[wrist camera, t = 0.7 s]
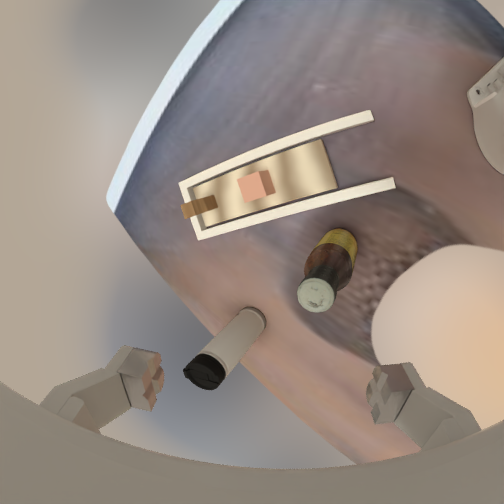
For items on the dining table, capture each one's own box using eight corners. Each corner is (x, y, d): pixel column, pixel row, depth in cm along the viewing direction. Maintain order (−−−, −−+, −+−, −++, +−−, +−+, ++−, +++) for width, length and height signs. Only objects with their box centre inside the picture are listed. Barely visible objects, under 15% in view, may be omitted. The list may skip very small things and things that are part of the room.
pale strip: (322, 139, 40) (309, 135, 33) (338, 187, 41) (329, 193, 34) (196, 187, 53) (168, 193, 46) (209, 225, 54) (183, 236, 47)
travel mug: (236, 304, 58) (178, 359, 41) (264, 308, 55) (211, 370, 38) (240, 329, 60) (187, 386, 43) (267, 333, 57) (219, 397, 40)
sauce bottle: (339, 269, 46) (311, 335, 29) (314, 243, 46) (271, 296, 30) (367, 244, 42) (355, 302, 25) (341, 217, 43) (312, 258, 26)
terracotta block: (268, 170, 44) (258, 171, 41) (275, 192, 45) (266, 196, 42) (247, 177, 46) (236, 179, 43) (255, 199, 47) (244, 203, 44)
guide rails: (370, 112, 35) (370, 109, 33) (394, 186, 37) (395, 188, 36) (184, 181, 54) (178, 183, 52) (204, 237, 56) (198, 240, 55)
